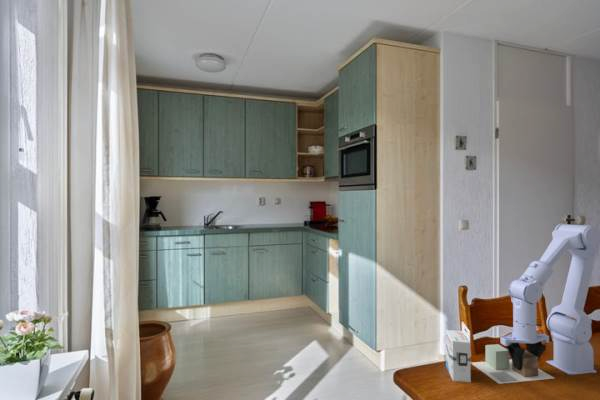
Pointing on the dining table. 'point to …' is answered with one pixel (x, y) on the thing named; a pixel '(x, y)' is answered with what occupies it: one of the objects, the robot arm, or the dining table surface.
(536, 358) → the walnut block
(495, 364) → the sage block
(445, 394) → the dining table surface
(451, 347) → the ink box
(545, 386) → the dining table surface
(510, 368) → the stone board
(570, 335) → the robot arm
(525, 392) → the dining table surface
